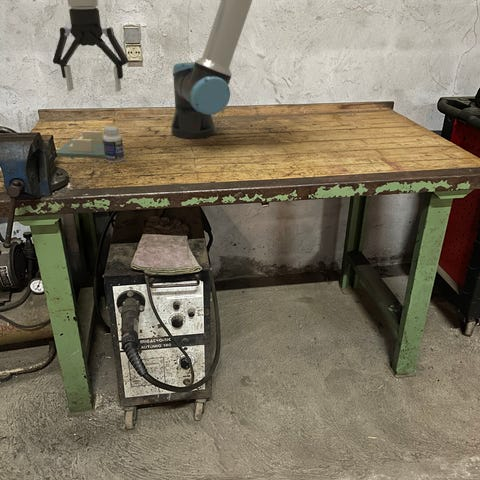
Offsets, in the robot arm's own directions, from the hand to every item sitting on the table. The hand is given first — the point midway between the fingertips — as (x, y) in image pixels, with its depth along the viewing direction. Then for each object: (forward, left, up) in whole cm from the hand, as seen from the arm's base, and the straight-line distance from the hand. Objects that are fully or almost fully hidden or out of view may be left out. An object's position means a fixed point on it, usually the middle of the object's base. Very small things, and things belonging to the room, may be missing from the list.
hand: (94, 90), depth 141 cm
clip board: (+7, -6, -20) cm, 21 cm away
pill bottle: (-4, +2, -20) cm, 20 cm away
